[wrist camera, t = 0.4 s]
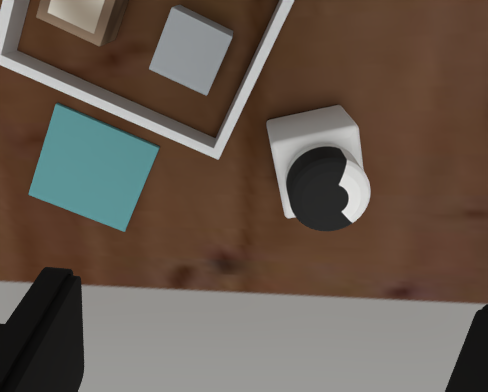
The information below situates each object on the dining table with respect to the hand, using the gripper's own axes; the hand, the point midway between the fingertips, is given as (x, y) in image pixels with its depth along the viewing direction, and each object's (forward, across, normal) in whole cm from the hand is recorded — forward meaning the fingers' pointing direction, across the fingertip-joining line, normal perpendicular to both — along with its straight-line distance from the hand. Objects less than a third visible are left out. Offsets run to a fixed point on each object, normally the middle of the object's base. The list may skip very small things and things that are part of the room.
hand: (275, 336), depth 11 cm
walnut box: (+34, +13, -5) cm, 37 cm away
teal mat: (+34, +14, +10) cm, 38 cm away
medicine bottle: (+34, -7, +6) cm, 35 cm away
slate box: (+34, +5, -2) cm, 34 cm away
